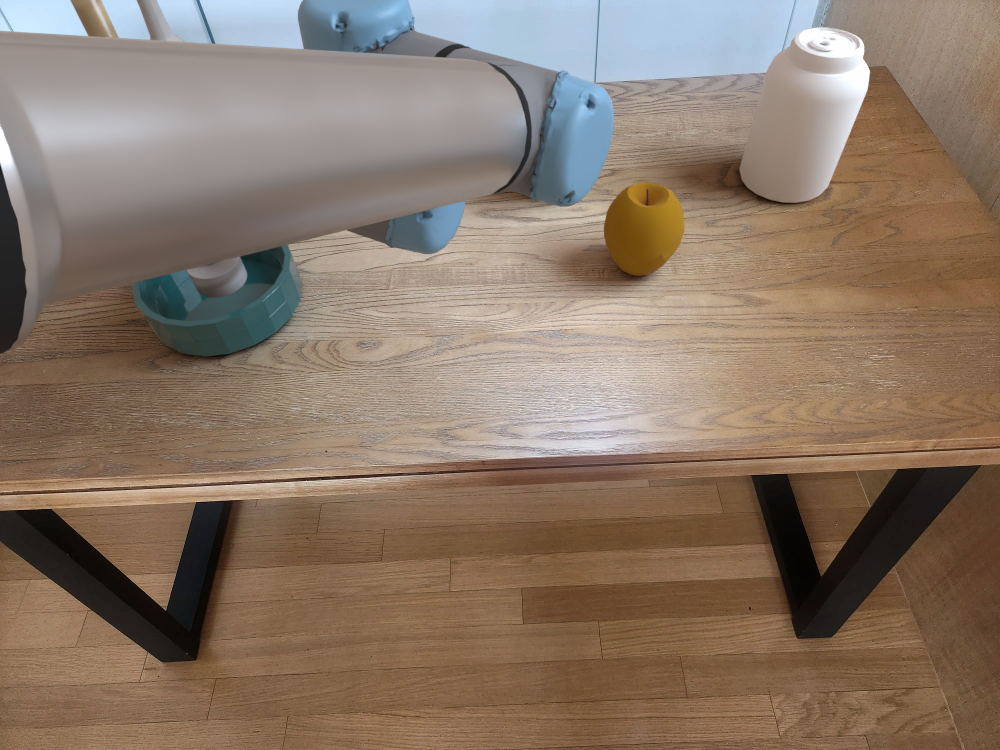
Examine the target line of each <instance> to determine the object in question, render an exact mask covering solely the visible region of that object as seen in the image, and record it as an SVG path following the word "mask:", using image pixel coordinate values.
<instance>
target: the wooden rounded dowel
mask: <svg viewBox="0 0 1000 750" xmlns="http://www.w3.org/2000/svg"><path fill="white" fill-rule="evenodd" d="M69 1H70V3H71V5H72V7H73V9H74V10H75V12H76V15H77V17H78V18H79V20H80V23H81V25H82V26H83V28H84V30H85V33H86V35H87V36H94V37H111V38H120V37H119V34H118V33H117V30H116V28H115V26H114V24H113V21H112V20H111V18H110V16H109V13H108V11H107V10H106V7H105V5H104V3H103V0H69ZM187 272H188V274H189V276H190V278H191V280H192V282H193V284H194V286H195V288H196V289H197V291H198V292H199V293H200V294H201V295H203V296H206V297H211V298H217V297H223V296H227V295H230V294H232V293H234V292H235V291H237V290H238V289H240V288H241V287H242V286H243V285H244V283H245V282H246V279H247V271H246V269H245V267H244V264H243V262H242V260H241V258H240V257H236V258H232V259H228V260H224V261H220V262H216V263H212V264H207V265H203V266H199V267H195V268H191V269H187Z"/></svg>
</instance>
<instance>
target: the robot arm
mask: <svg viewBox="0 0 1000 750" xmlns="http://www.w3.org/2000/svg"><path fill="white" fill-rule="evenodd" d="M297 23H298V27H299V32H300V38H301V43H302V47H303V48H291V47H290V48H289V47H277V46H275V47H274V46H259V45H258V46H257V45H244V44H243V45H242V44H241V45H240V44H226V43H225V44H224V43H211V42H195V41H194V42H192V41H191V42H190V41H185V42H177V41H161V40H150V39H145V38H143V39H142V38H128V37H127V38H124V37H119V38H111V37H94V36H88V35H76V34H59V33H43V32H27V31H26V32H25V31H9V30H8V31H7V30H0V355H2V354H5V353H7V352H10V351H13V350H16V349H18V348H19V347H21V346H22V345H23V344H24V343H26V340H28V339H29V336H30V335H31V333H32V332H33V330H34V328H35V325H36V323H37V321H38V319H39V318H40V316H41V313H42V311H43V310H44V307H45V306H46V305H49V304H52V303H53V304H54V303H57V302H62V301H65V300H69V299H73V298H77V297H82V296H86V295H91V294H95V293H98V292H102V291H106V290H110V289H114V288H119V287H123V286H126V285H131V284H133V283H135V282H139V281H143V280H147V279H151V278H155V277H159V276H163V275H167V274H171V273H175V272H179V271H183V270H187V269H191V268H195V267H199V266H203V265H207V264H212V263H216V262H220V261H224V260H228V259H232V258H236V257H240V256H244V255H248V254H252V253H256V252H260V251H264V250H268V249H272V248H276V247H280V246H284V245H288V246H289V245H292V244H297V243H300V242H304V241H308V240H312V239H313V240H314V239H316V238H320V237H325V236H328V235H332V234H336V233H341V232H344V231H347V232H349V233H352V234H356V235H359V236H361V237H364V238H367V239H370V240H372V241H376V242H379V243H382V244H384V245H386V246H388V247H389V248H390V249H391V248H392V249H395V248H396V249H400V250H405V251H409V252H413V253H417V254H422V255H433V254H436V253H439V252H440V251H442V250H444V249H445V248H446V247H447V246H448V244H449V243H450V241H452V240H453V238H454V237H455V235H456V233H457V231H458V229H459V227H460V225H461V223H462V219H463V216H464V212H465V206H466V201H469V200H470V201H471V200H474V199H478V198H483V197H489V196H494V195H500V194H503V193H507V192H508V193H509V192H512V193H517V194H520V195H523V196H526V197H528V198H529V199H530V201H533V202H534V203H536V202H541V203H544V204H545V203H546V204H549V205H553V206H557V207H560V208H562V207H563V208H565V207H566V208H568V207H572V206H575V205H577V204H578V203H579V202H581V201H582V200H583V199H584V198H585V197H586V196H587V195H588V194H589V193H590V191H591V190H592V189H593V187H594V186H595V184H596V182H597V181H598V179H599V177H600V175H601V173H602V171H603V168H604V166H605V163H606V161H607V158H608V155H609V151H610V146H611V143H612V137H613V134H614V126H615V110H614V105H613V101H612V98H611V97H610V95H609V93H608V91H607V90H606V89H605V88H604V87H603V86H601V85H599V84H597V83H595V82H593V81H589V80H586V79H583V78H580V77H578V76H574V75H571V74H570V73H569V71H566V70H562V69H561V70H560V71H557V70H553V69H550V68H546V67H542V66H538V65H534V64H532V63H531V64H530V63H527V62H524V61H521V60H518V59H517V60H516V59H513V58H509V57H504V56H502V55H497V54H494V53H490V52H486V51H482V50H478V49H474V48H472V47H470V46H468V45H464V44H461V43H459V42H455V41H451V40H448V39H445V38H441V37H437V36H433V35H430V34H426V33H422V32H419V31H417V30H415V29H416V28H415V16H414V15H413V12H412V8H411V4H410V0H302V1H301V3H300V5H299V7H298V10H297Z"/></svg>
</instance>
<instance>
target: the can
mask: <svg viewBox="0 0 1000 750" xmlns="http://www.w3.org/2000/svg"><path fill="white" fill-rule="evenodd" d="M864 54H865V44H864V42H863V40H862V38H861V37H859V36H857V35H856V34H853V33H851V32H850V31H847V30H843V29H840V28H834V27H812V28H806V29H804V30H801V31H799V32H798V33H796V35H795V36H794V37H793V38H792V40H791V41H790V44H789V46H788V47H786V48H784V49H783V50H781V51H780V52H778V53H777V54H776V55H775V56H774V57H773V58H772V60H771V62H770V64H769V65H768V67H767V70H766V73H765V76H764V78H763V82H762V86H761V90H760V93H759V97H758V101H757V104H756V107H755V111H754V115H753V118H752V122H751V126H750V129H749V133H748V136H747V140H746V144H745V148H744V150H743V154H742V158H741V161H740V165H739V169H738V170H739V173H740V178H741V181H742V183H743V185H745V187H746V188H747V189H748V190H750V191H751V192H753V193H754V194H755V195H756V196H759V197H762V198H764V199H767V200H770V201H775V202H778V203H779V202H780V203H790V204H791V203H793V204H797V203H803V202H808V201H811V200H814V199H816V198H819V197H820V196H821V194H823V193H824V192H825V190H826V189H827V188H828V187H829V185H830V183H831V180H832V178H833V176H834V174H835V171H836V169H837V166H838V163H839V162H840V159H841V156H842V154H843V151H844V150H845V146H846V144H847V142H848V139H849V136H850V134H851V132H852V129H853V127H854V124H855V121H856V120H857V117H858V114H859V112H860V109H861V107H862V105H863V101H864V99H865V97H866V94H867V92H868V89H869V84H870V74H871V70H870V68H869V66H868V63H866V61H865V60H864Z"/></svg>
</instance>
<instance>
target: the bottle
mask: <svg viewBox="0 0 1000 750" xmlns="http://www.w3.org/2000/svg"><path fill="white" fill-rule="evenodd" d="M136 2H137V5H138V7H139V10H140V12H141V15H142V18H143V21H144V24H145V26H146V29H147V31H148V34H149V40H161V41H177V42H186V40H184V39H183V38H181V37H179V36H178V35H176V34H175V33H174V32H173V31H172V29H171V27H170V25H169V23H168V21H167V18H166V17H165V15H164V13H163V10H162V8H161V6H160V4H159V2H158V0H136Z"/></svg>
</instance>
